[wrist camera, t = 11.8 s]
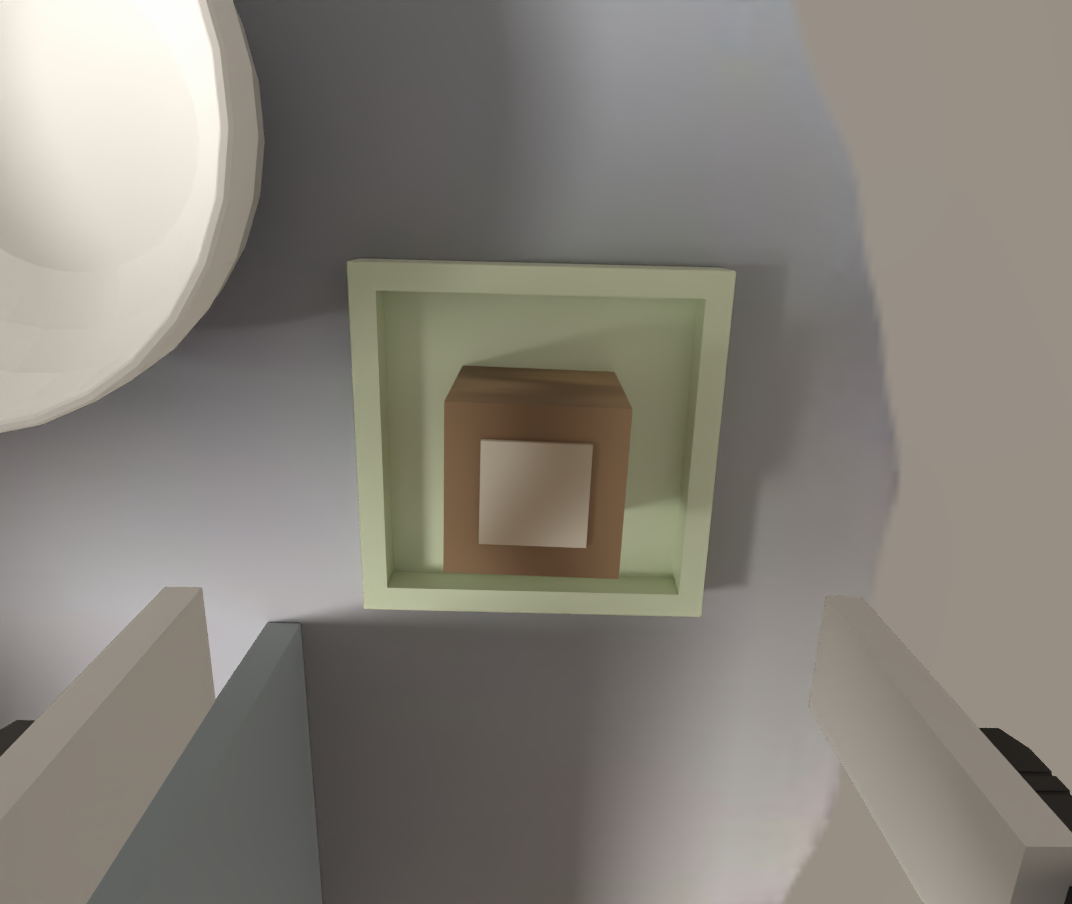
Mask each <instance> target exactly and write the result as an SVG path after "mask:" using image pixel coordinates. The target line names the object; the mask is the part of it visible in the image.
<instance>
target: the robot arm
mask: <svg viewBox="0 0 1072 904" xmlns="http://www.w3.org/2000/svg"><path fill="white" fill-rule="evenodd" d="M215 701H216V700H215V692H214V683H213V675H212V667H211V658H210V650H209V642H208V633H207V625H206V617H205V608H204V600H203V592H202V588H200V587H164V588H163V589H162V590H161V591H160V593H159V594H158V595H157V596H156V597H155V598H154V599H153V600H152V601H151V602H150V603H149V604H148V605H147V606H146V607H145V608H144V609H143V610H142V611H141V612H140V613H139V614H138V615H137V616H136V617H135V618H134V619H133V620H132V621H131V622H130V623H129V625H128V626H127V627H126V628H125V629H124V630H123V631H122V632H121V633H120V634H119V635H118V636H117V637H116V638H115V639H114V640H113V641H112V642H111V643H110V644H109V645H108V646H107V647H106V648H105V649H104V650H103V651H102V652H101V653H100V654H99V655H98V657H97V658H96V659H95V660H94V661H93V662H92V663H91V664H90V665H89V666H88V667H87V668H86V669H85V670H84V671H83V672H82V673H81V674H80V675H79V676H78V677H77V678H76V679H75V680H74V681H73V682H72V683H71V684H70V685H69V686H68V687H67V689H66V690H65V691H64V692H63V693H62V694H61V695H60V696H59V697H58V698H57V699H56V700H55V701H54V702H53V703H52V704H51V705H50V706H49V707H48V708H47V709H46V710H45V711H44V712H43V713H42V714H41V715H40V716H39V717H38V718H37V719H36V721H33V720H16V721H15V722H13V723H11V724H10V725H8V726H6V727H5V728H3V729H1V730H0V904H87V902H88V901H89V899H90V897H91V896H92V894H93V893H94V891H95V890H96V888H97V886H98V885H99V883H100V882H101V880H102V879H103V877H104V875H105V874H106V872H107V871H108V869H109V868H110V866H111V864H112V863H113V861H114V860H115V858H116V856H117V855H118V853H119V852H120V850H121V849H122V847H123V845H124V844H125V842H126V841H127V839H128V838H129V836H130V834H131V833H132V831H133V830H134V828H135V827H136V825H137V823H138V822H139V820H140V819H141V817H142V816H143V814H144V812H145V811H146V809H147V808H148V806H149V805H150V803H151V801H152V800H153V798H154V797H155V795H156V794H157V792H158V790H159V789H160V787H161V786H162V784H163V783H164V781H165V779H166V778H167V776H168V775H169V773H170V772H171V770H172V768H173V767H174V765H175V764H176V762H177V761H178V759H179V757H180V756H181V754H182V753H183V751H184V750H185V748H186V746H187V745H188V743H189V742H190V740H191V739H192V737H193V735H194V734H195V732H196V731H197V729H198V728H199V726H200V724H201V723H202V721H203V720H204V718H205V717H206V715H207V713H208V712H209V710H210V709H211V707H212V706H213V704H214V702H215ZM809 709H810V710H811V712H812V714H813V715H814V717H815V719H816V721H817V722H818V724H819V726H820V727H821V729H822V731H823V733H824V734H825V736H826V738H827V739H828V741H829V743H830V745H831V746H832V748H833V750H834V751H835V753H836V755H837V757H838V758H839V760H840V762H841V763H842V765H843V767H844V769H845V770H846V772H847V774H848V775H849V777H850V779H851V780H852V782H853V784H854V786H855V787H856V789H857V791H858V793H859V794H860V796H861V797H862V799H863V801H864V803H865V805H866V806H867V808H868V810H869V811H870V813H871V815H872V816H873V818H874V820H875V822H876V823H877V825H878V827H879V829H880V830H881V832H882V834H883V835H884V837H885V839H886V841H887V842H888V844H889V846H890V847H891V849H892V851H893V853H894V854H895V856H896V858H897V859H898V861H899V863H900V865H901V866H902V868H903V870H904V871H905V873H906V875H907V877H908V878H909V880H910V882H911V883H912V885H913V887H914V888H915V890H916V892H917V894H918V895H919V897H920V899H921V901H922V902H923V904H1072V796H1071V795H1070V791H1069V789H1068V788H1066V786H1065V785H1064V784H1063V783H1062V782H1061V781H1060V780H1059V779H1058V778H1057V777H1056V776H1052V774H1051V771H1050V770H1049V768H1047V766H1046V765H1045V764H1044V763H1043V762H1042V761H1041V760H1040V759H1039V758H1038V757H1037V756H1036V755H1035V754H1034V753H1033V752H1032V751H1031V750H1030V749H1029V748H1028V747H1026V746H1025V745H1023V744H1022V743H1020V742H1019V741H1017V740H1016V739H1014V738H1013V737H1011V736H1009V735H1008V734H1007V733H1005V732H1004V731H1002V730H1000V729H999V728H978V727H977V726H976V725H975V724H974V722H973V721H972V720H971V719H970V718H969V717H968V716H967V715H966V713H965V712H964V711H963V710H962V709H961V708H960V707H959V706H958V705H957V703H956V702H955V701H954V700H953V699H952V698H951V697H950V696H949V695H948V693H947V692H946V691H945V690H944V689H943V688H942V687H941V686H940V684H939V683H938V682H937V681H936V680H935V679H934V678H933V676H931V674H930V673H929V672H928V671H927V670H926V669H925V668H924V666H923V665H922V664H921V663H920V662H919V661H918V660H917V659H916V658H915V656H914V655H913V654H912V653H911V652H910V651H909V650H908V649H907V647H906V646H905V645H904V644H903V643H902V642H901V641H900V639H899V638H898V637H897V636H896V635H895V634H894V633H893V632H892V631H891V629H890V628H889V627H888V626H887V625H886V624H885V623H884V622H883V621H882V619H881V618H880V617H879V616H878V615H877V614H876V613H875V611H874V610H873V609H872V608H871V607H870V606H869V605H868V604H867V603H866V601H865V600H864V599H863V598H862V597H833V596H826V599H825V605H824V611H823V618H822V624H821V631H820V637H819V643H818V650H817V656H816V663H815V669H814V675H813V682H812V688H811V695H810V701H809Z"/></svg>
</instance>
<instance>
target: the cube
mask: <svg viewBox="0 0 1072 904" xmlns="http://www.w3.org/2000/svg"><path fill="white" fill-rule="evenodd" d="M632 411H633V409H632V407H631V405H630V403H629V401H628V398H627V396H626V394H625V392H624V390H623V388H622V386H621V384H620V382H619V380H618V378H617V376H616V374H615V372H607V371H583V370H559V369H535V368H511V367H487V366H462V368H461V370H460V372H459V373H458V375H457V377H456V379H455V381H454V383H453V385H452V387H451V389H450V391H449V393H448V395H447V397H446V399H445V401H444V543H443V572H449V573H475V574H500V575H526V576H551V577H577V578H602V579H619V569H620V557H621V545H622V533H623V520H624V508H625V496H626V484H627V472H628V460H629V448H630V435H631V423H632Z"/></svg>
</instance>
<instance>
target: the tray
mask: <svg viewBox="0 0 1072 904" xmlns="http://www.w3.org/2000/svg"><path fill="white" fill-rule="evenodd" d="M347 279H348V299H349V319H350V340H351V360H352V380H353V400H354V420H355V440H356V461H357V481H358V501H359V521H360V541H361V561H362V582H363V602H364V609H387V610H428V611H470V612H512V613H553V614H595V615H636V616H678V617H701V612H702V602H703V592H704V582H705V572H706V563H707V553H708V543H709V533H710V523H711V514H712V504H713V494H714V484H715V474H716V465H717V455H718V445H719V435H720V425H721V416H722V406H723V396H724V386H725V377H726V367H727V357H728V347H729V337H730V328H731V318H732V308H733V298H734V288H735V279H736V271H733V270H729V269H726V268H718V267H679V266H641V265H602V264H563V263H524V262H485V261H446V260H407V259H368V258H359V259H355V260H351V261H347ZM462 366H487V367H511V368H535V369H559V370H583V371H607V372H615V374H616V376H617V378H618V380H619V382H620V384H621V386H622V388H623V390H624V392H625V394H626V396H627V398H628V401H629V403H630V405H631V407H632V409H633V411H632V423H631V435H630V448H629V460H628V472H627V484H626V496H625V508H624V520H623V533H622V545H621V557H620V569H619V579H602V578H577V577H551V576H526V575H500V574H475V573H449V572H443V543H444V401H445V399H446V397H447V395H448V393H449V391H450V389H451V387H452V385H453V383H454V381H455V379H456V377H457V375H458V373H459V372H460V370H461V368H462Z"/></svg>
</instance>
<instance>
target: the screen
mask: <svg viewBox="0 0 1072 904" xmlns="http://www.w3.org/2000/svg"><path fill="white" fill-rule="evenodd" d="M87 904H323V901H322V888H321V876H320V863H319V850H318V837H317V825H316V812H315V799H314V786H313V774H312V761H311V748H310V735H309V723H308V710H307V697H306V684H305V672H304V659H303V646H302V633H301V623H267V624H266V625H265V627H264V628H263V630H262V631H261V633H260V634H259V636H258V637H257V639H256V640H255V642H254V643H253V645H252V646H251V648H250V649H249V651H248V652H247V654H246V655H245V657H244V658H243V660H242V661H241V663H240V664H239V666H238V667H237V669H236V670H235V672H234V673H233V675H232V676H231V678H230V679H229V680H228V682H227V683H226V685H225V686H224V688H223V689H222V691H221V692H220V694H219V695H218V697H217V698H216V701H215V702H214V704H213V706H212V707H211V709H210V710H209V712H208V713H207V715H206V717H205V718H204V720H203V721H202V723H201V724H200V726H199V728H198V729H197V731H196V732H195V734H194V735H193V737H192V739H191V740H190V742H189V743H188V745H187V746H186V748H185V750H184V751H183V753H182V754H181V756H180V757H179V759H178V761H177V762H176V764H175V765H174V767H173V768H172V770H171V772H170V773H169V775H168V776H167V778H166V779H165V781H164V783H163V784H162V786H161V787H160V789H159V790H158V792H157V794H156V795H155V797H154V798H153V800H152V801H151V803H150V805H149V806H148V808H147V809H146V811H145V812H144V814H143V816H142V817H141V819H140V820H139V822H138V823H137V825H136V827H135V828H134V830H133V831H132V833H131V834H130V836H129V838H128V839H127V841H126V842H125V844H124V845H123V847H122V849H121V850H120V852H119V853H118V855H117V856H116V858H115V860H114V861H113V863H112V864H111V866H110V868H109V869H108V871H107V872H106V874H105V875H104V877H103V879H102V880H101V882H100V883H99V885H98V886H97V888H96V890H95V891H94V893H93V894H92V896H91V897H90V899H89V901H88V902H87Z"/></svg>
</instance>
